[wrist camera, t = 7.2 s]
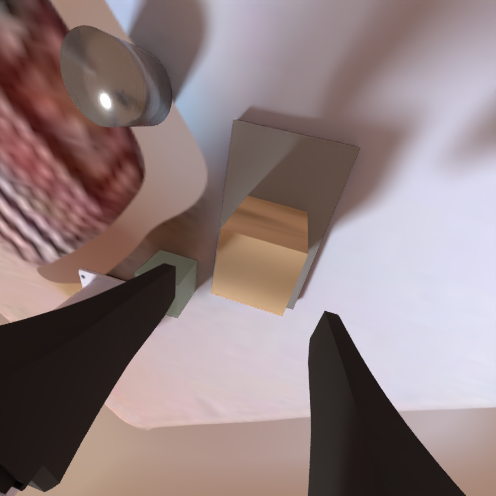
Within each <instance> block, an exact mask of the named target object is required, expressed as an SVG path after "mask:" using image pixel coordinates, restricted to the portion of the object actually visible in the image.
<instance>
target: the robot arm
mask: <svg viewBox="0 0 496 496" xmlns="http://www.w3.org/2000/svg"><path fill="white" fill-rule="evenodd" d="M79 275H80V279H81V282H82V286H83V288H82V289H81V290H80V291H78V292H77V293H76V294H74V295H73V296H72V297H70V298H69V299H68V300H66V301H65V302H64V303H62V304H61V305H60V306H58V307H57V308H56V309H54V310H53V311H50V312H47V313H43V314H40V315H37V316H34V317H30V318H27V319H23V320H20V321H16V322H12V323H8V324H5V325H0V496H14V495H15V494H16V493H17V492H18V491H19V490H20V491H23V490H24V489H25V488H26V486H27V485H29V486H31V487H34V488H36V489H38V490H41V491H43V492H46V491H48V490H50V489H52V488H53V487H55V486H56V485H58V484H59V483H60V481H61V480H62V478H63V475H64V474H65V472H66V470H67V468H68V466H69V465H70V463H71V461H72V459H73V457H74V455H75V454H76V452H77V450H78V448H79V446H80V444H81V442H82V441H83V439H84V437H85V435H86V434H87V432H88V430H89V428H90V427H91V425H92V423H93V421H94V420H95V418H96V416H97V414H98V413H99V411H100V409H101V408H102V406H103V404H104V403H105V401H106V399H107V398H108V396H109V394H110V393H111V391H112V389H113V388H114V386H115V384H116V383H117V381H118V380H119V378H120V376H121V375H122V373H123V372H124V370H125V369H126V367H127V365H128V364H129V363H130V361H131V360H132V358H133V357H134V355H135V354H136V353H137V352H138V350H139V349H140V348H141V346H142V345H143V344H144V342H145V341H146V340H147V338H148V337H149V336H150V335H151V333H152V332H153V331H154V329H155V328H156V327H157V325H158V324H159V323H160V321H161V320H162V319H163V317H164V316H165V314H166V313H167V311H168V309H169V308H170V306H171V304H172V302H173V301H174V299H175V291H176V266H173V265H170V264H166V263H163V264H161V265H159V266H157V267H155V268H153V269H151V270H149V271H147V272H145V273H143V274H141V275H139V276H137V277H135V278H133V279H131V280H129V281H127V282H126V281H123V280H120V279H116V278H113V277H110V276H107V275H104V274H100V273H97V272H94V271H91V270H88V269H84V268H81V269H80V270H79ZM308 369H309V390H310V409H311V447H310V469H309V489H308V496H466V495H465V494H464V493H463V492H462V491H461V490H460V488H459V487H458V486H457V485H456V484H455V483H454V482H453V480H452V479H451V478H450V477H449V476H448V475H447V473H446V472H445V471H444V470H443V469H442V468H441V466H439V464H438V463H437V462H436V460H435V459H434V458H433V457H432V455H431V454H430V453H429V452H428V451H427V449H426V448H425V447H424V446H423V444H422V443H421V442H420V441H419V439H418V438H417V437H416V436H415V434H414V433H413V432H412V430H411V429H410V428H409V426H407V424H406V423H405V421H404V420H403V418H402V417H401V416H400V414H399V413H398V412H397V410H396V409H395V407H394V406H393V405H392V403H391V402H390V400H389V399H388V398H387V396H386V395H385V393H384V392H383V390H382V389H381V387H380V386H379V384H378V383H377V381H376V379H375V378H374V376H373V375H372V373H371V372H370V370H369V368H368V367H367V365H366V363H365V362H364V360H363V358H362V357H361V355H360V353H359V352H358V350H357V348H356V346H355V344H354V343H353V341H352V339H351V337H350V335H349V334H348V332H347V330H346V328H345V326H344V324H343V322H342V321H341V319H340V317H339V315H337V314H334V313H330V312H327V311H324V313H323V315H322V317H321V319H320V321H319V323H318V325H317V327H316V328H315V330H314V332H313V334H312V336H311V338H310V343H309V356H308Z"/></svg>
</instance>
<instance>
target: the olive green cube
mask: <svg viewBox="0 0 496 496" xmlns="http://www.w3.org/2000/svg"><path fill="white" fill-rule="evenodd" d="M163 263H166V264H170V265H173V266H176V291H175V299H174V301H173V302H172V304H171V306H170V308H169V309H168V311H167V313H166V315H169V316H172V317H175V318H178V317H179V315H180V314H181V312H182V311H183V309H184V308H185V306H186V304H187V303H188V301H189V300H190V298H191V297H192V295H193V294H194V292H195V289H196V277H197V264H198V261H197V260H193V259H190V258H187V257H183V256H180V255H176V254H173V253H170V252H166V251H163V250H159V251H158V252H157V253H156V254H155V255H154V256H152V257H151V258H150V259H149V260H148V261H147V262H146V263H144V264H143V265H142V266H141V267H140V268H139V269H138V270H136V271H135V272H134V274H135V277H137V276H139V275H141V274H143V273H145V272H147V271H149V270H151V269H153V268H155V267H157V266H159V265H161V264H163Z"/></svg>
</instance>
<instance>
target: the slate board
mask: <svg viewBox="0 0 496 496" xmlns="http://www.w3.org/2000/svg"><path fill="white" fill-rule="evenodd" d="M359 150H360V148H359V147H356V146H352V145H347V144H343V143H338V142H334V141H329V140H325V139H320V138H316V137H311V136H307V135H303V134H298V133H294V132H289V131H285V130H280V129H276V128H271V127H267V126H262V125H258V124H254V123H249V122H245V121H240V120H233V126H232V134H231V141H230V149H229V157H228V164H227V172H226V179H225V187H224V195H223V202H222V210H221V218H220V225H219V233H218V241H217V248H216V256H215V263H216V257H217V250H218V244H219V237H220V231H221V228H222V226H223V225H224V224H225V223H226V222H227V220H228V219H229V218H230V217H231V215H232V214H233V213H234V212H235V210H236V209H237V208H238V207H239V205H240V204H241V203H242V202H243V200H244V199H245V198H246V197H247V195H248V196H251V197H255V198H258V199H262V200H266V201H269V202H273V203H277V204H280V205H284V206H288V207H291V208H295V209H298V210H302V211H306V212H307V216H308V256H307V258H306V261H305V263H304V266H303V268H302V270H301V273H300V275H299V278H298V280H297V282H296V285H295V287H294V290H293V292H292V294H291V297H290V299H289V302H288V304H287V306H286V308H290V309H293V308H294V306H295V303H296V301H297V299H298V296H299V294H300V291H301V289H302V287H303V284H304V282H305V279H306V277H307V275H308V272H309V270H310V267H311V265H312V263H313V260H314V258H315V255H316V253H317V251H318V248H319V246H320V243H321V241H322V239H323V236H324V234H325V231H326V229H327V227H328V224H329V222H330V219H331V217H332V215H333V212H334V210H335V207H336V205H337V203H338V200H339V198H340V195H341V193H342V191H343V188H344V186H345V183H346V181H347V179H348V176H349V174H350V171H351V169H352V167H353V164H354V162H355V159H356V157H357V155H358V152H359ZM215 263H214V270H215ZM213 276H214V271H213ZM212 283H213V279H212Z"/></svg>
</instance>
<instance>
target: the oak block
mask: <svg viewBox="0 0 496 496" xmlns="http://www.w3.org/2000/svg"><path fill="white" fill-rule="evenodd" d="M307 256H308V216H307V212H306V211H302V210H298V209H295V208H291V207H288V206H284V205H280V204H277V203H273V202H269V201H266V200H262V199H258V198H255V197H251V196H248V195H247V197H246V198H245V199H244V200H243V202H242V203H241V204H240V205H239V207H238V208H237V209H236V210H235V212H234V213H233V214H232V215H231V217H230V218H229V219H228V220H227V222H226V223H225V224H224V225H223V226H222V228H221V231H220V237H219V244H218V250H217V257H216V263H215V270H214V276H213V283H212V289H211V293H212V294H215V295H218V296H221V297H224V298H227V299H230V300H233V301H237V302H240V303H243V304H246V305H249V306H252V307H255V308H258V309H262V310H265V311H268V312H271V313H274V314H277V315H280V316H283V314H284V311H285V309H286V306H287V304H288V302H289V299H290V297H291V294H292V292H293V290H294V287H295V285H296V282H297V280H298V278H299V275H300V273H301V270H302V268H303V266H304V263H305V261H306V258H307Z"/></svg>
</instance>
